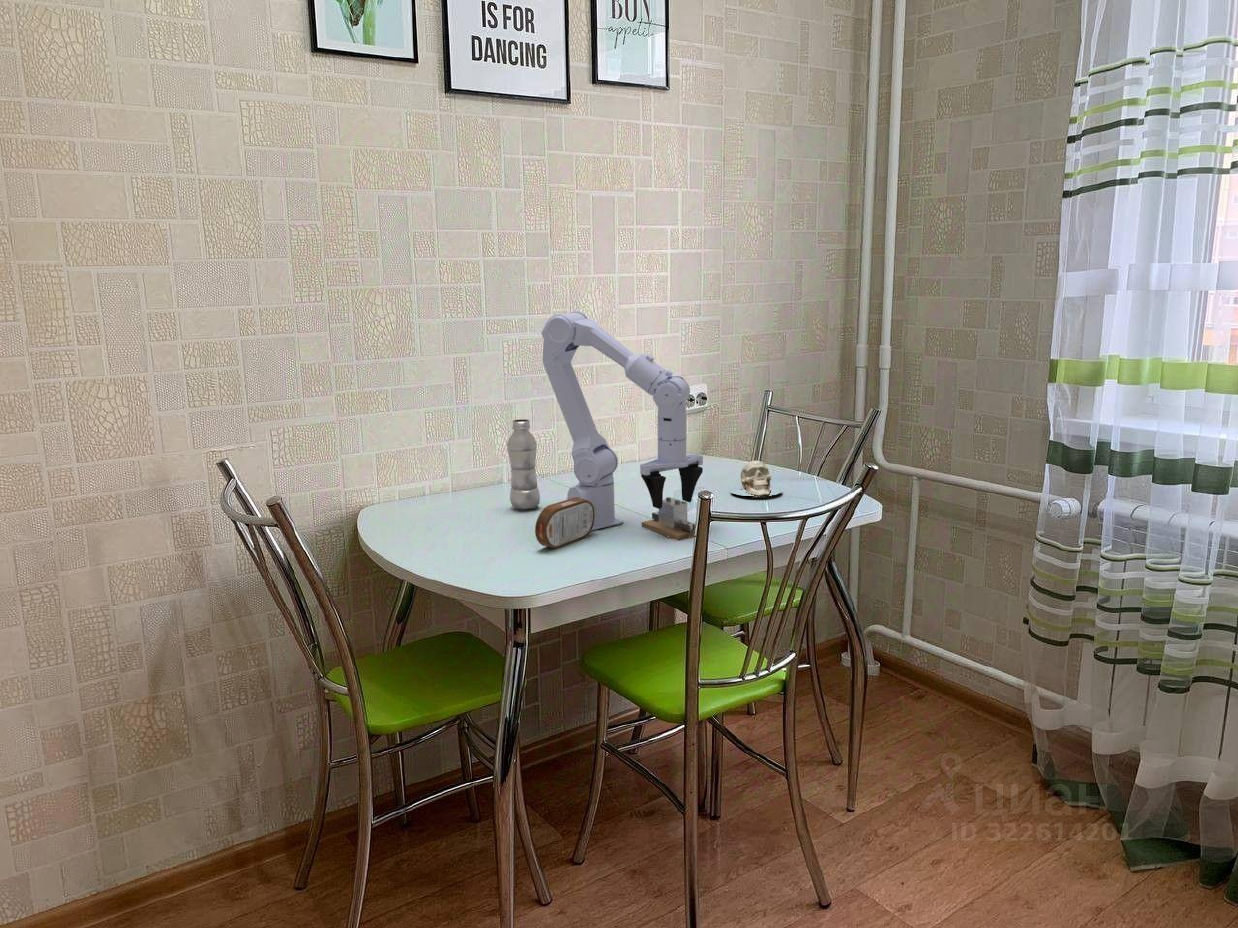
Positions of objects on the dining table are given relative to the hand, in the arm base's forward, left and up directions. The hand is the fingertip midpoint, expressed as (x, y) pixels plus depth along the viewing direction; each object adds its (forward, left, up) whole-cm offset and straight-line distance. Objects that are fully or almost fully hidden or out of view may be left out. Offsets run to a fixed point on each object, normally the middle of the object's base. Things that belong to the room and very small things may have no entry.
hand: (672, 504), depth 186 cm
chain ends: (0, 0, -6) cm, 6 cm away
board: (0, 0, -6) cm, 6 cm away
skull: (+33, +10, -6) cm, 35 cm away
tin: (-21, +7, -6) cm, 23 cm away
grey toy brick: (0, 0, -5) cm, 5 cm away
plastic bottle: (-15, +34, -6) cm, 37 cm away
